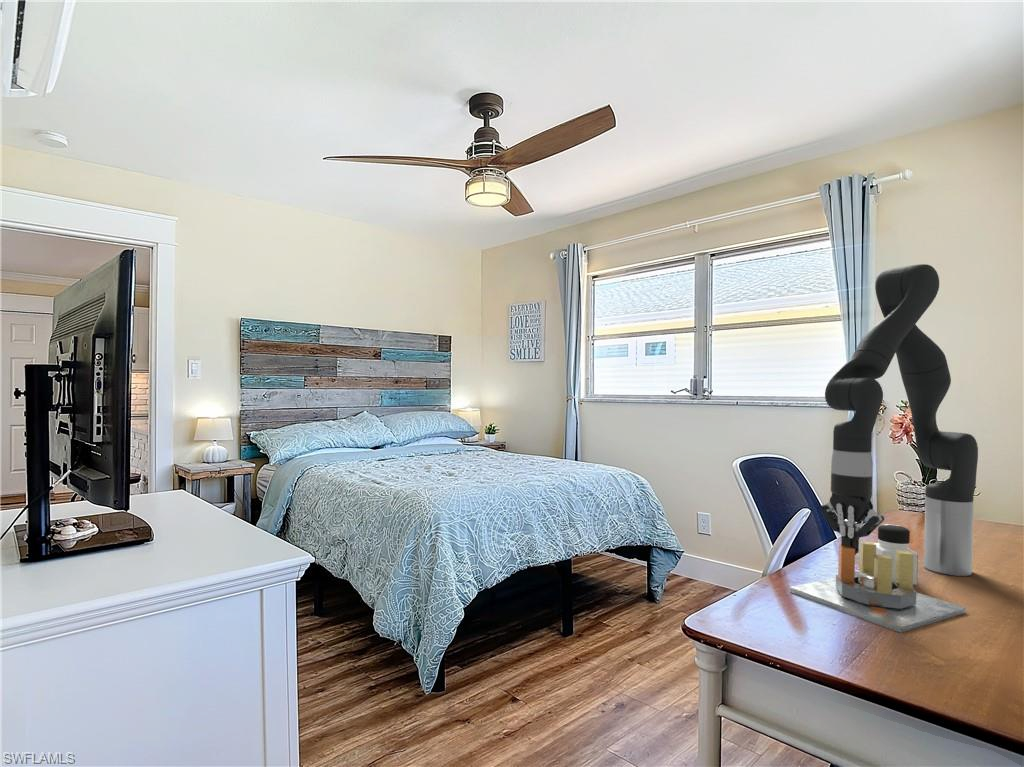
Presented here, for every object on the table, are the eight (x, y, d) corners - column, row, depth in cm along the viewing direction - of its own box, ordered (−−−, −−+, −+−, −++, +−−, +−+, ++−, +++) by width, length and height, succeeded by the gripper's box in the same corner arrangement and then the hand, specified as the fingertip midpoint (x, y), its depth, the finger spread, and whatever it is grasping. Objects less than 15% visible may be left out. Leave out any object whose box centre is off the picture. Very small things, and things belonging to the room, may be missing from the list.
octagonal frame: (861, 581, 125) (862, 538, 125) (926, 601, 114) (927, 554, 114) (824, 589, 119) (825, 544, 119) (888, 611, 108) (889, 562, 108)
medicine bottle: (917, 585, 127) (918, 531, 127) (882, 582, 128) (883, 528, 128) (902, 575, 134) (903, 523, 134) (869, 572, 135) (870, 521, 135)
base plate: (853, 577, 131) (854, 555, 131) (965, 612, 112) (966, 586, 112) (789, 591, 121) (790, 568, 121) (900, 632, 101) (901, 604, 101)
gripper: (894, 476, 117) (893, 561, 117) (832, 467, 129) (830, 544, 128) (872, 478, 113) (870, 566, 113) (811, 468, 125) (809, 548, 125)
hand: (849, 554), depth 121 cm, fingers closed
